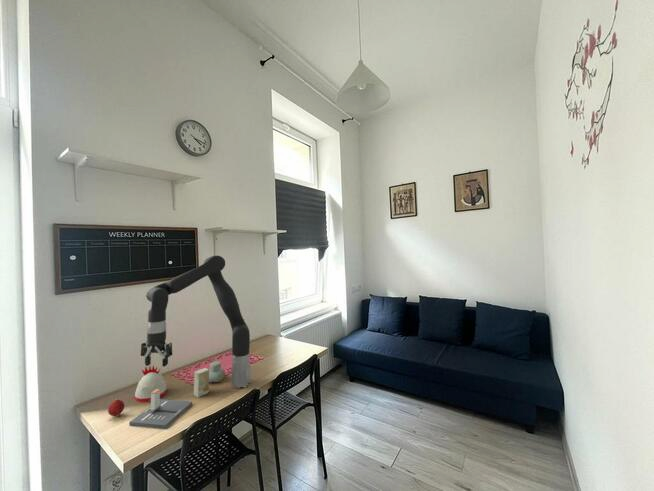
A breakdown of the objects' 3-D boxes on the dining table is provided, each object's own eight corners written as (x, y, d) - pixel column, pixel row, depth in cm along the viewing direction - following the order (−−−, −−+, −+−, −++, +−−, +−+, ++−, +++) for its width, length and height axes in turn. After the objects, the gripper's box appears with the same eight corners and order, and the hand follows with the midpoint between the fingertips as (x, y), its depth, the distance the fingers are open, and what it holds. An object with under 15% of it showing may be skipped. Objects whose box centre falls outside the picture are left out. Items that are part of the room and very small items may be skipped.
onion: (114, 412, 123) (114, 395, 123) (127, 412, 124) (127, 394, 124) (104, 420, 117) (105, 402, 118) (118, 420, 118) (118, 401, 118)
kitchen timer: (138, 391, 143) (139, 362, 143) (168, 385, 148) (168, 358, 149) (131, 404, 130) (132, 373, 130) (163, 398, 135) (164, 368, 136)
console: (192, 404, 130) (192, 401, 130) (165, 428, 112) (165, 425, 112) (160, 402, 132) (160, 398, 132) (129, 425, 114) (129, 421, 114)
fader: (161, 406, 125) (161, 388, 125) (152, 412, 120) (153, 394, 120) (157, 406, 125) (157, 388, 125) (148, 412, 120) (149, 393, 120)
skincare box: (198, 397, 136) (198, 373, 136) (193, 395, 138) (193, 371, 139) (209, 392, 141) (209, 369, 142) (204, 390, 144) (205, 367, 144)
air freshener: (215, 385, 149) (215, 367, 149) (202, 384, 150) (203, 366, 151) (227, 376, 159) (227, 360, 159) (214, 375, 161) (215, 358, 161)
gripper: (176, 328, 126) (176, 362, 126) (149, 327, 128) (148, 361, 128) (164, 333, 119) (164, 369, 119) (136, 332, 121) (135, 368, 120)
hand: (156, 365), depth 123 cm, fingers open, 8 cm apart
